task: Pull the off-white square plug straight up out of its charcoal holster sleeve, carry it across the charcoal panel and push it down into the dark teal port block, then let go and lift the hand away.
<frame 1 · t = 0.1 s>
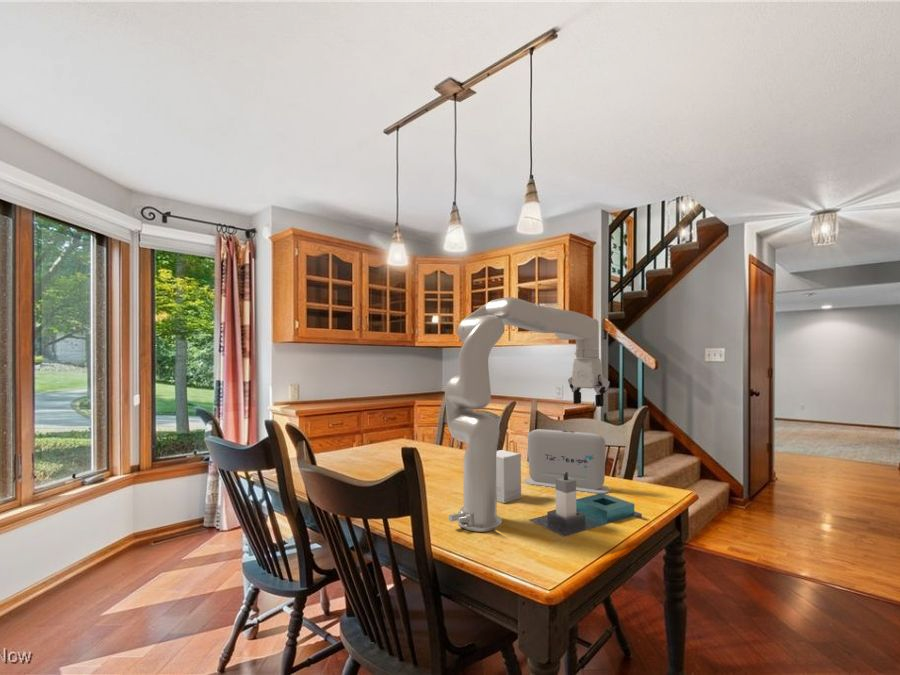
hand: (588, 405, 155), 31 cm above the table, tool pointing down, fingers open, 9 cm apart
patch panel: (586, 520, 133), on the table
supplement box: (503, 498, 154), on the table
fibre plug: (566, 522, 129), point 1 cm above the table, touching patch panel
wireless router: (565, 486, 168), on the table
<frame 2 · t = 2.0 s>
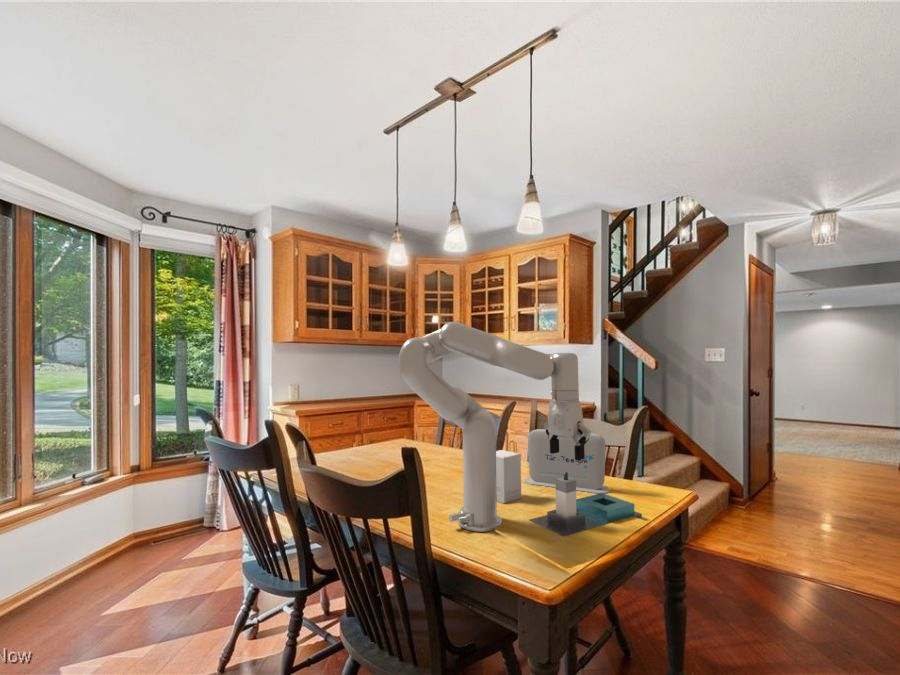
hand: (566, 456, 130), 20 cm above the table, tool pointing down, fingers open, 9 cm apart
nothing on the table moved.
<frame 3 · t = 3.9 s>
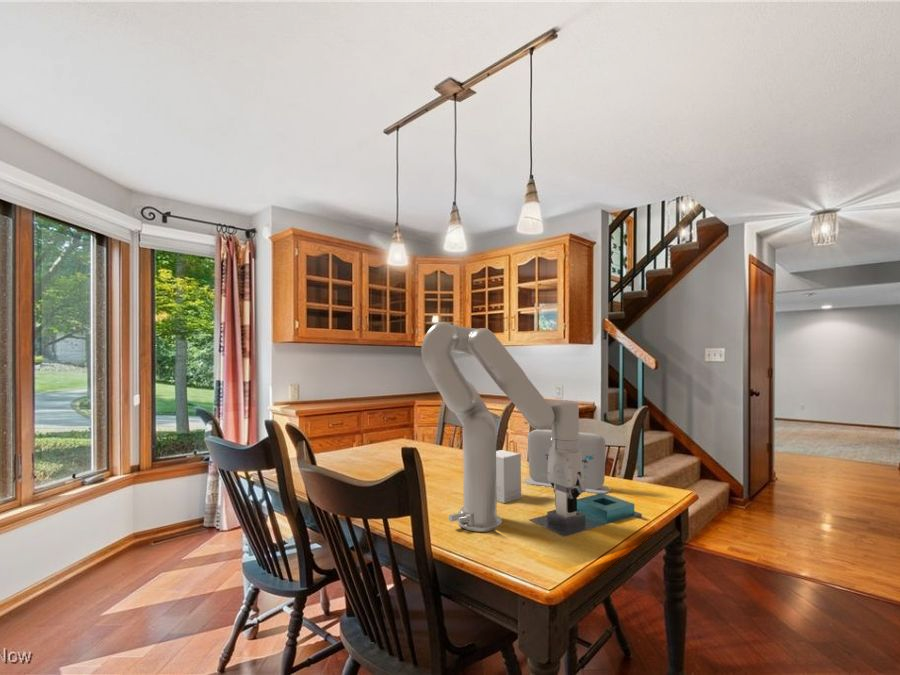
hand: (566, 508, 130), 5 cm above the table, tool pointing down, fingers closed on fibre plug, 3 cm apart
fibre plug: (566, 522, 129), point 1 cm above the table, touching gripper
everything else where it was.
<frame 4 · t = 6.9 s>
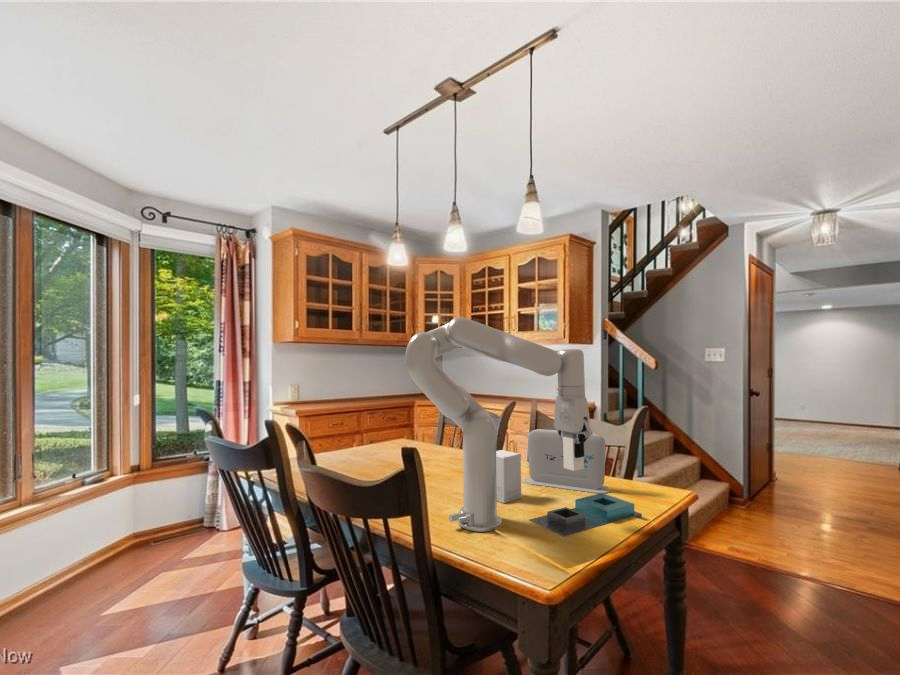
hand: (573, 454, 131), 20 cm above the table, tool pointing down, fingers closed on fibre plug, 4 cm apart
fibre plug: (573, 468, 131), point 16 cm above the table, touching gripper
everything else where it was.
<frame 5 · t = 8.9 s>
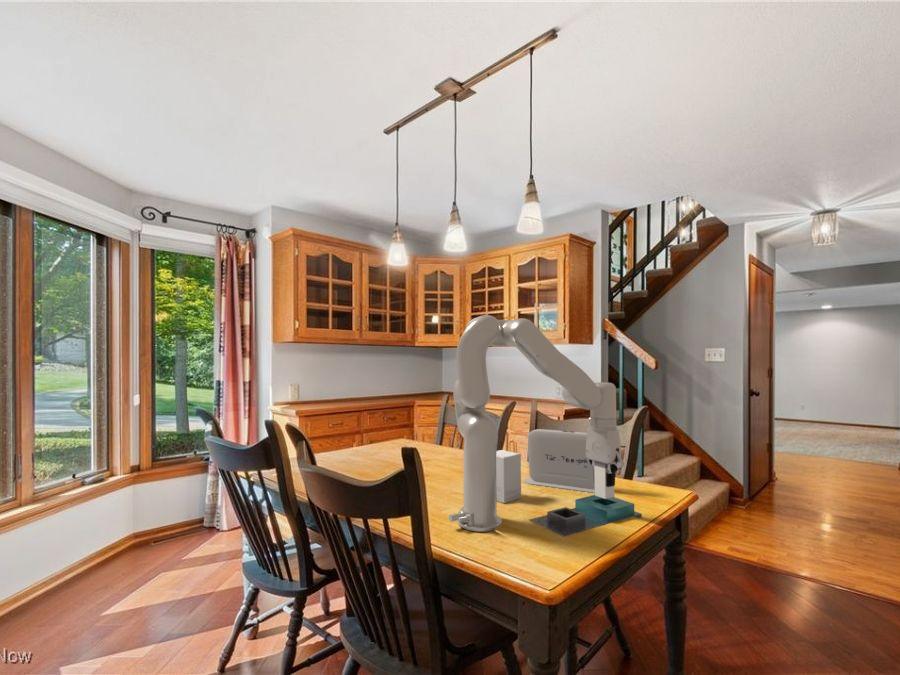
hand: (604, 483, 138), 9 cm above the table, tool pointing down, fingers closed on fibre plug, 4 cm apart
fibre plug: (604, 496, 138), point 6 cm above the table, touching gripper
everything else where it was.
when the fingers open (5 cm above the table, at t = 10.2 s): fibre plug stays where it is, resting on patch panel.
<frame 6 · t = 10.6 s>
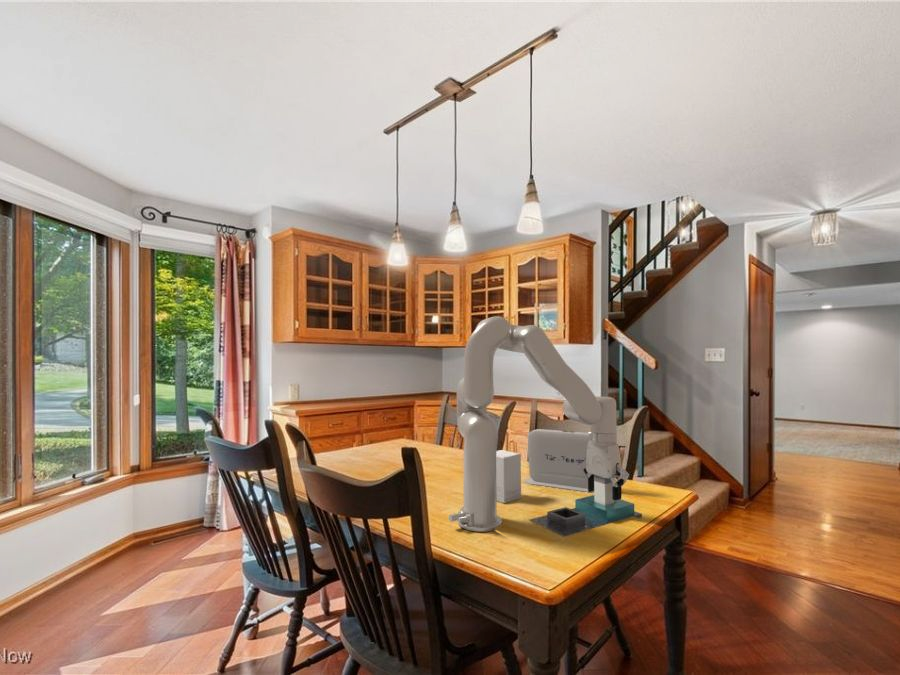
hand: (604, 495, 138), 6 cm above the table, tool pointing down, fingers open, 8 cm apart
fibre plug: (604, 511, 138), point 1 cm above the table, touching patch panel
everything else where it was.
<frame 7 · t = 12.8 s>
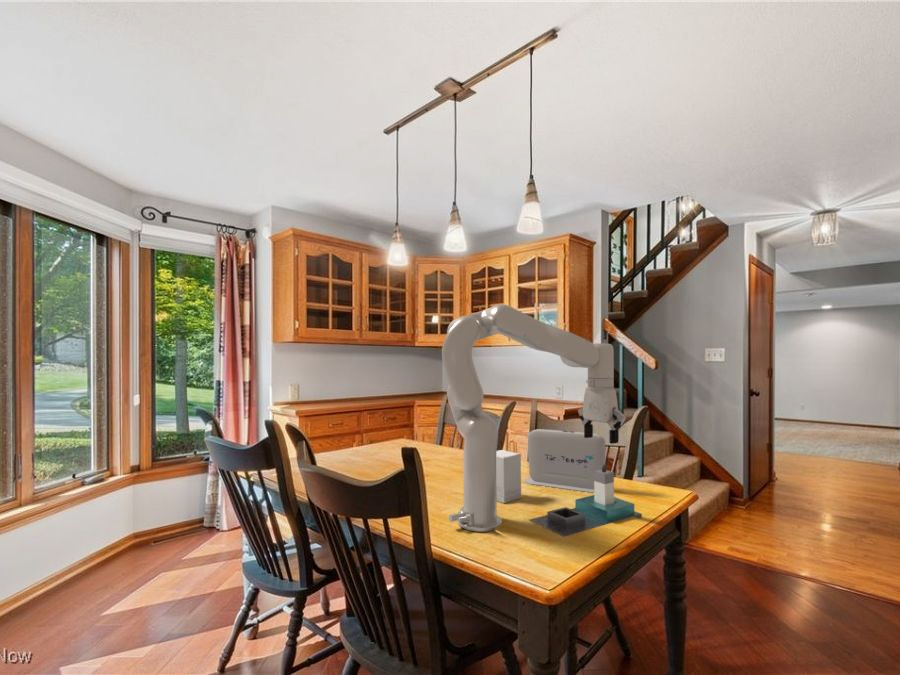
hand: (600, 440, 138), 22 cm above the table, tool pointing down, fingers open, 9 cm apart
nothing on the table moved.
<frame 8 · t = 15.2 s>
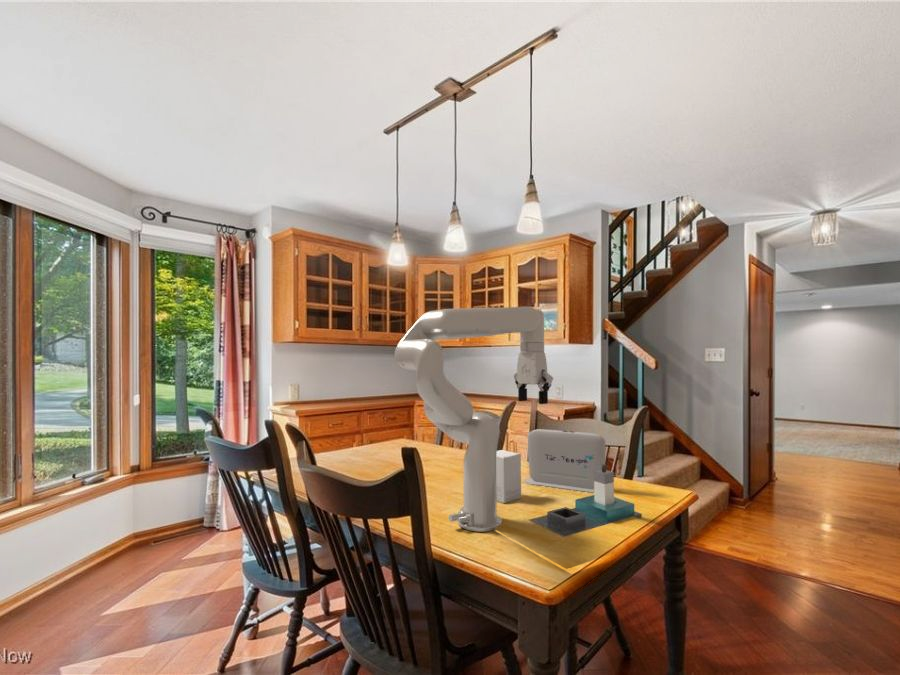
hand: (532, 402, 145), 33 cm above the table, tool pointing down, fingers open, 9 cm apart
nothing on the table moved.
at the end: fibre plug 0.0 cm from the target spot on the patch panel, point 1.0 cm above the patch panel's base; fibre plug tilted 0°; the gripper is holding nothing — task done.
